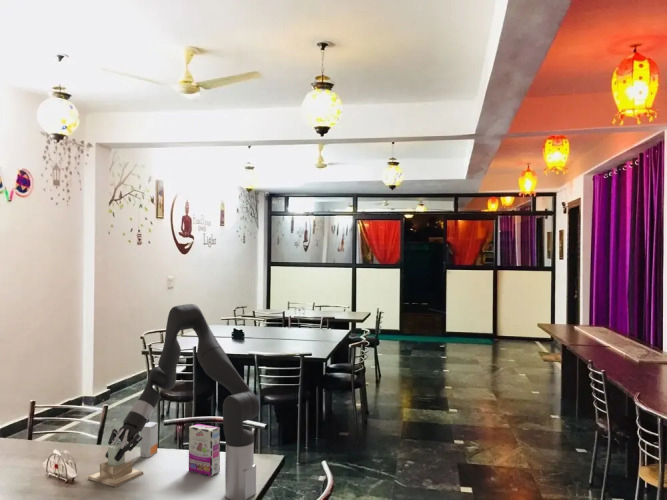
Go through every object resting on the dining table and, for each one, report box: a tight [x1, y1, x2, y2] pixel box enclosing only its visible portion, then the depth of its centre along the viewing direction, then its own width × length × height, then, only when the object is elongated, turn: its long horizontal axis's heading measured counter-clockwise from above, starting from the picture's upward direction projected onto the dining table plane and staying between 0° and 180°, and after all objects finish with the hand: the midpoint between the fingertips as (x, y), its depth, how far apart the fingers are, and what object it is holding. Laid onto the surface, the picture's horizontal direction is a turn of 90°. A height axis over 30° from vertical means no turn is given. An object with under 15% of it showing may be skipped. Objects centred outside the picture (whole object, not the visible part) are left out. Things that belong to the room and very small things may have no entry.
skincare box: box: [139, 421, 159, 458], centre depth 209 cm, size 6×4×12 cm
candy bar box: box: [188, 423, 221, 477], centre depth 192 cm, size 11×5×16 cm, turn 62°
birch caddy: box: [87, 460, 144, 488], centre depth 187 cm, size 14×12×5 cm
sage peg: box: [107, 442, 126, 467], centre depth 188 cm, size 4×4×8 cm
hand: (111, 458), depth 186 cm, fingers closed on sage peg, 4 cm apart
